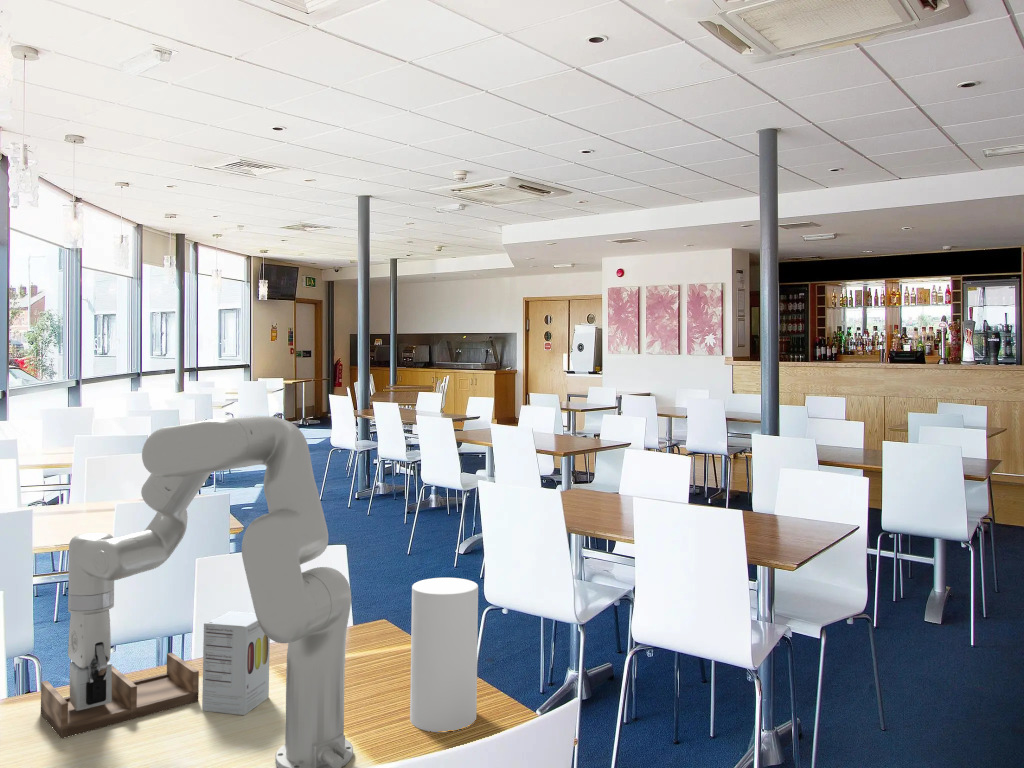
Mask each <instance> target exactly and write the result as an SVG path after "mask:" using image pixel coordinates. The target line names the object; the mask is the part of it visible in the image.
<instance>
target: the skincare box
mask: <svg viewBox="0 0 1024 768" xmlns="http://www.w3.org/2000/svg"><path fill="white" fill-rule="evenodd" d="M92 664H97V661H93V662H91V665H92ZM112 666H113V665H112V663H111V662H110V661H109V662H108V663H107V671H106V672H107V673H106V676H107V679H106V700H105V701H103V702H99V703H95V704H91V705H87V703H86V683H87V682H89V681H88V671H87V667H86V668H84V669H82V668H80V667H79V666H77V665H76V664H75V663H74V662H73V661H72V662H69V696H70V703H71V704H72V705H73V707H74V708H75V710H76V711H78V710H83V709H87V708H91V707H96V706H100V705H104V704H108V703H111V702H112ZM95 670H97V667H96V668H92V671H93V673H94V671H95Z"/></svg>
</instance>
